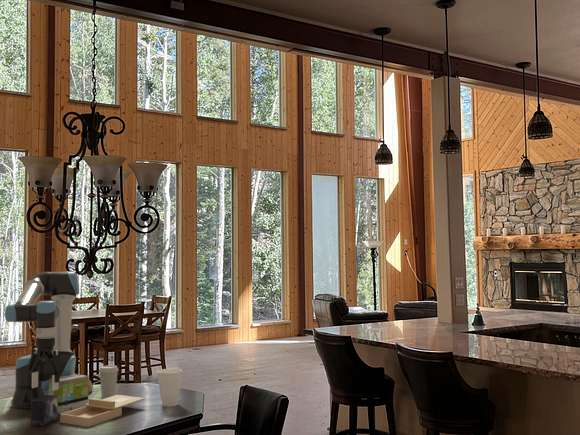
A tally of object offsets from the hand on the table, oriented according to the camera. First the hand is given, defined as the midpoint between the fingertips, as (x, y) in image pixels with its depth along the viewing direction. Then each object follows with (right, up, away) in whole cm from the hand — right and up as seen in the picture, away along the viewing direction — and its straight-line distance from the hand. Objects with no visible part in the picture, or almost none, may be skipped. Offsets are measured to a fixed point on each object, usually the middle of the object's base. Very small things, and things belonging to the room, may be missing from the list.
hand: (45, 388), depth 264 cm
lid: (+25, -11, +18) cm, 33 cm away
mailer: (+18, -14, +5) cm, 24 cm away
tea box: (+2, -16, +22) cm, 27 cm away
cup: (+48, -16, +28) cm, 58 cm away
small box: (0, -14, -1) cm, 14 cm away
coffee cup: (+14, -17, +45) cm, 50 cm away
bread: (-6, -18, +56) cm, 59 cm away
